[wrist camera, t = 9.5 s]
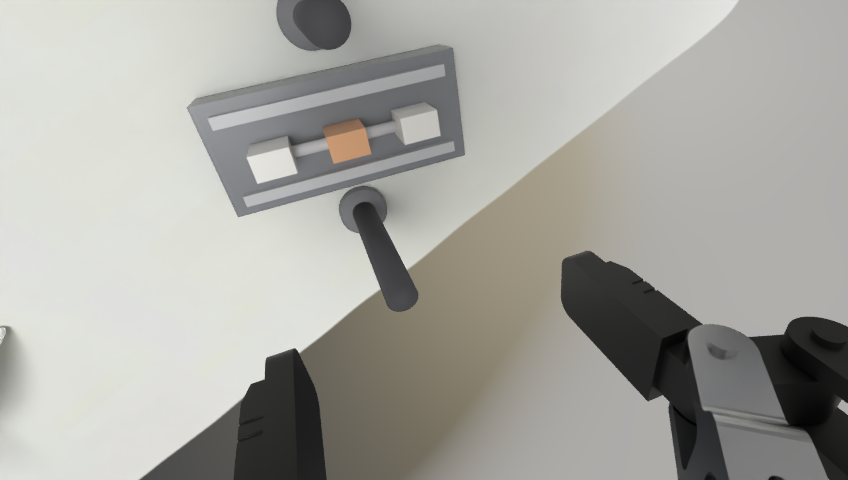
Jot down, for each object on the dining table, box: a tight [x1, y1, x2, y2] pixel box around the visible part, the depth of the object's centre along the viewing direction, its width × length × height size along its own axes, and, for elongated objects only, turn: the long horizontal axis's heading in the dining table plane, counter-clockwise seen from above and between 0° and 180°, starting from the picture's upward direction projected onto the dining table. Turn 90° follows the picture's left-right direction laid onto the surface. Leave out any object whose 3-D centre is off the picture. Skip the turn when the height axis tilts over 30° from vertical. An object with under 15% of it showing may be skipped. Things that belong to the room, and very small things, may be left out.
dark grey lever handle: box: [339, 186, 418, 312], centre depth 30 cm, size 4×4×14 cm
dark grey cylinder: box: [277, 0, 351, 51], centre depth 22 cm, size 4×4×14 cm
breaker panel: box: [187, 45, 465, 217], centre depth 30 cm, size 18×8×4 cm, turn 100°
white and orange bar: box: [247, 102, 441, 184], centre depth 28 cm, size 13×2×3 cm, turn 100°
